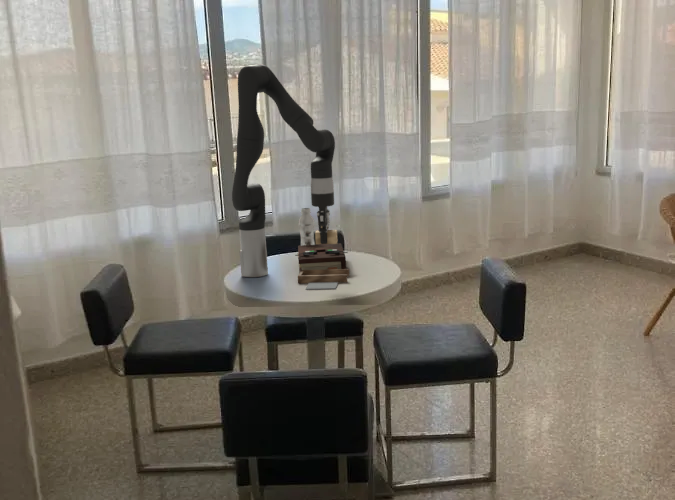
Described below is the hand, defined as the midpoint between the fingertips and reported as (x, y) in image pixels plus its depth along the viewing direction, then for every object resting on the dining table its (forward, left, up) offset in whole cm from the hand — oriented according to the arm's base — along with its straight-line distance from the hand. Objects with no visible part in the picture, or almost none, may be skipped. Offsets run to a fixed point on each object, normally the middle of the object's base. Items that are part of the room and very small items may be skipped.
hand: (324, 241), depth 238 cm
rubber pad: (-1, -2, -15) cm, 15 cm away
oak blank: (+1, 0, 0) cm, 1 cm away
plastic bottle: (-12, +43, -15) cm, 47 cm away
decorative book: (-5, +27, -16) cm, 31 cm away
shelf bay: (-2, +8, -15) cm, 17 cm away
